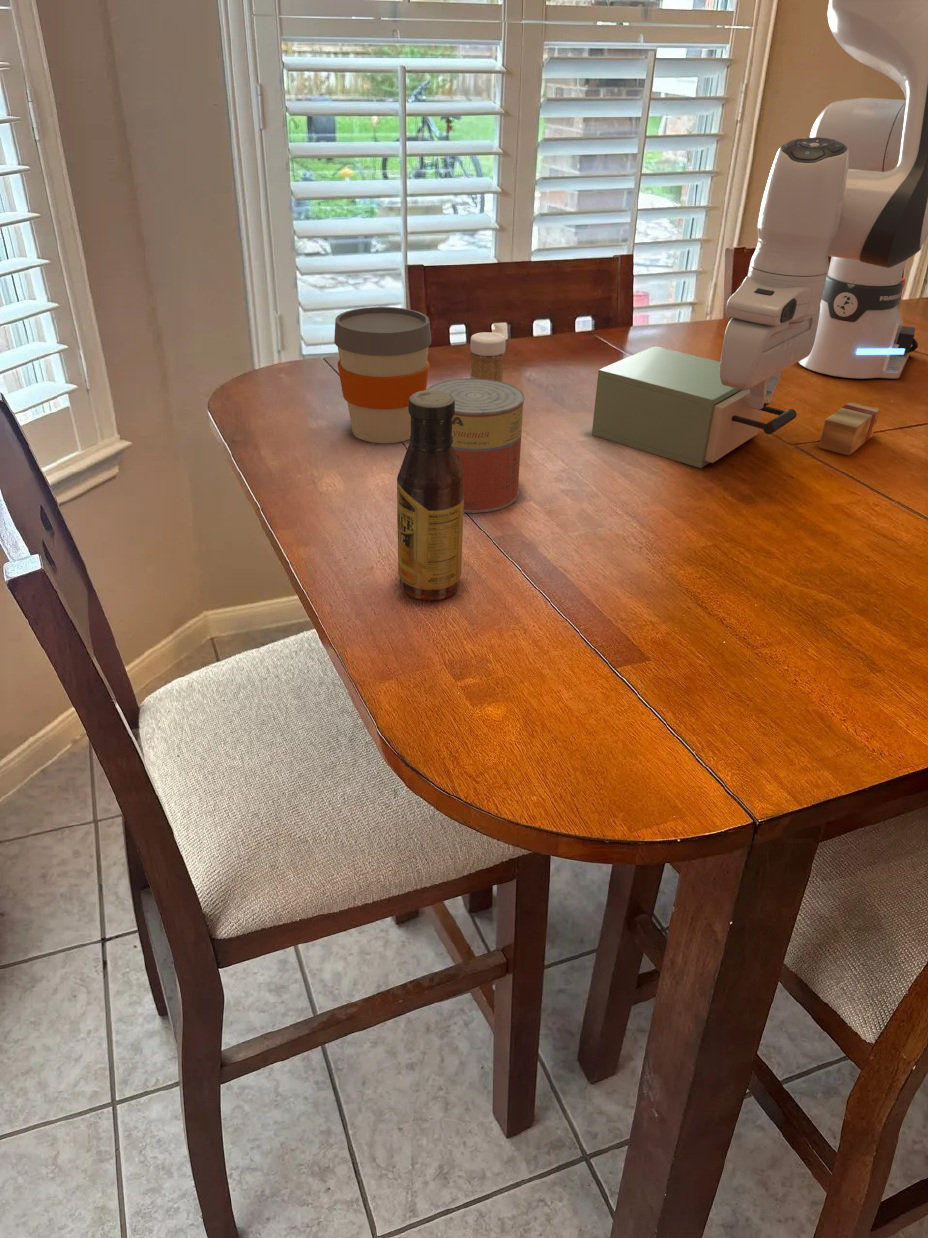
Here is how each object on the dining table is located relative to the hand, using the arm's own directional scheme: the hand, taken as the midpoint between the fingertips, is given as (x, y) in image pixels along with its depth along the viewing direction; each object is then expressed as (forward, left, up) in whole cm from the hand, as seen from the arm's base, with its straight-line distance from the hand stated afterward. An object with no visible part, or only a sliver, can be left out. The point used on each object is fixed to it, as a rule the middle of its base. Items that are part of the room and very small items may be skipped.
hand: (759, 405), depth 116 cm
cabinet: (0, -12, -7) cm, 14 cm away
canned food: (+32, -21, -7) cm, 39 cm away
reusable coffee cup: (+25, -42, -7) cm, 49 cm away
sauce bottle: (+52, -10, -7) cm, 54 cm away
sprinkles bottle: (+17, -31, -7) cm, 36 cm away
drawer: (0, -7, -6) cm, 9 cm away
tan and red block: (-15, +7, -7) cm, 18 cm away
